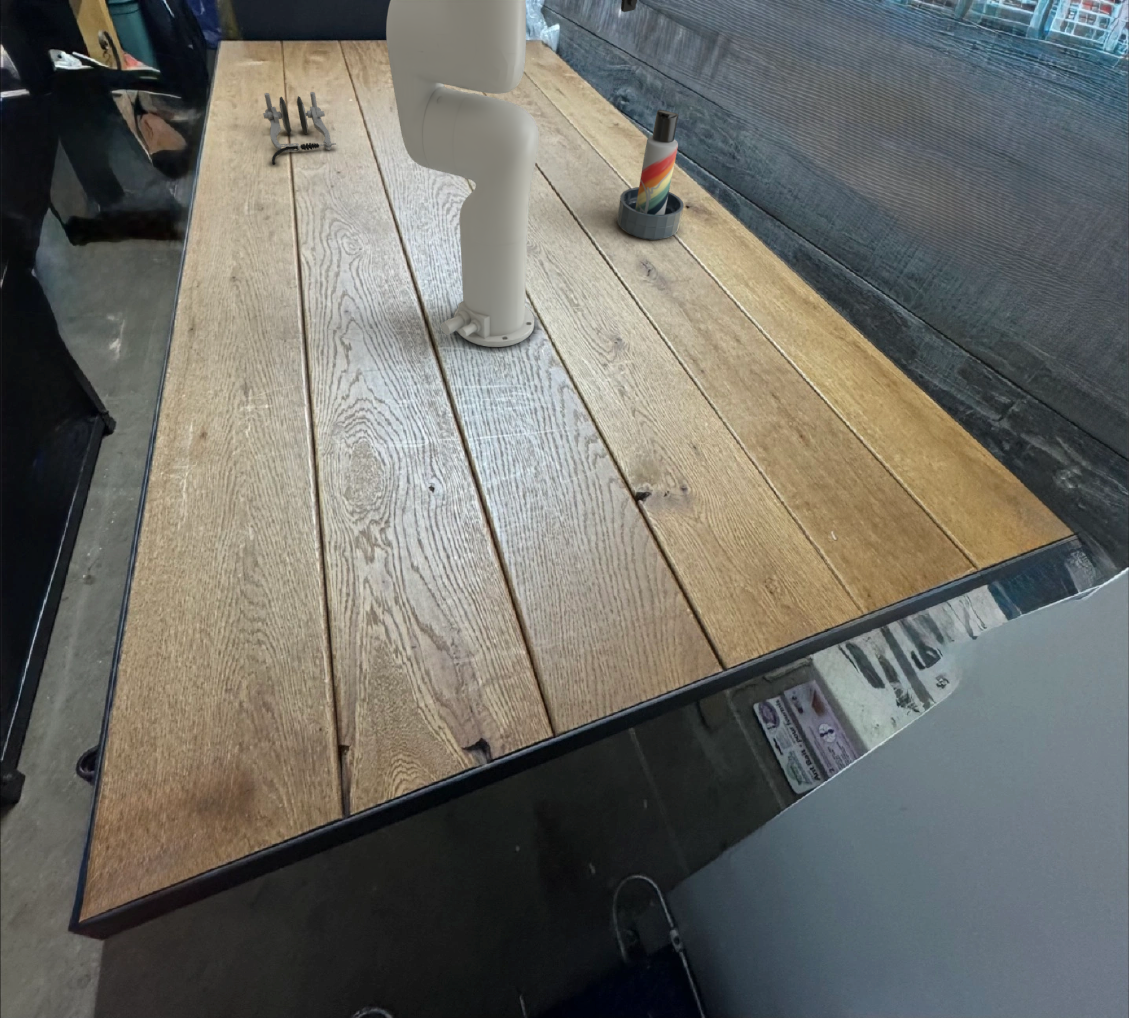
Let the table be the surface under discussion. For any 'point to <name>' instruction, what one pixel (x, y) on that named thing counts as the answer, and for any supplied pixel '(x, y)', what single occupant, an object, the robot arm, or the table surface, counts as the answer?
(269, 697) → the table surface
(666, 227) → the bowl
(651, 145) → the lotion bottle
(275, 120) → the bike brake
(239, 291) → the table surface
